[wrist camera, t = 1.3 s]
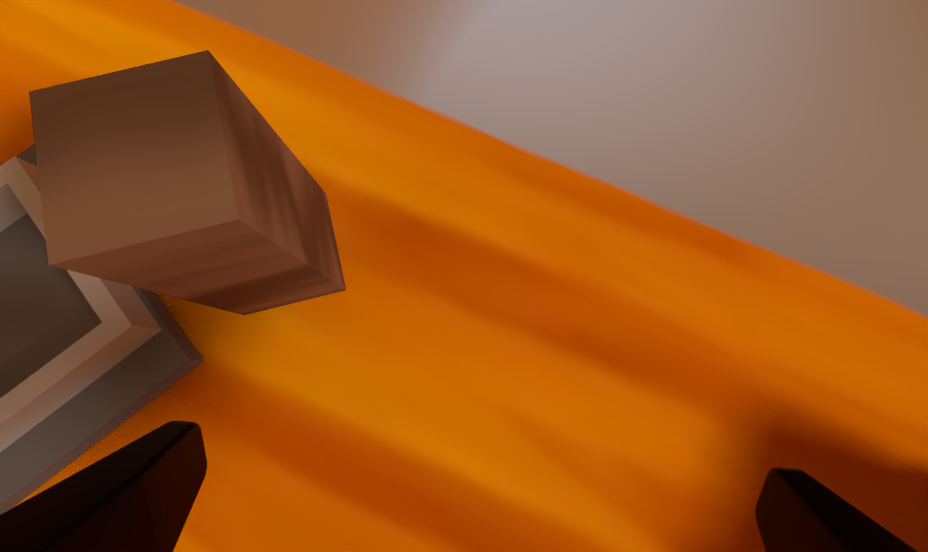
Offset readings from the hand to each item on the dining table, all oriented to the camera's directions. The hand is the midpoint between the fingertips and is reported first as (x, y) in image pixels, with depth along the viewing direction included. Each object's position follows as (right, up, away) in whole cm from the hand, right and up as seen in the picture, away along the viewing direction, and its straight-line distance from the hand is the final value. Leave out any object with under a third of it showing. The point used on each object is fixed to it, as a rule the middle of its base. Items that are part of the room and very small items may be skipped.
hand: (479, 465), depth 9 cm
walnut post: (-8, +4, +15) cm, 18 cm away
